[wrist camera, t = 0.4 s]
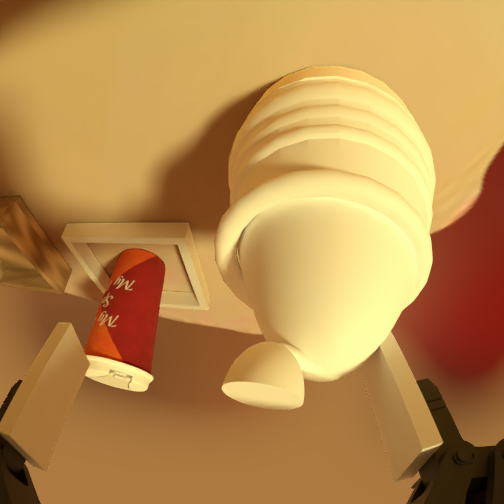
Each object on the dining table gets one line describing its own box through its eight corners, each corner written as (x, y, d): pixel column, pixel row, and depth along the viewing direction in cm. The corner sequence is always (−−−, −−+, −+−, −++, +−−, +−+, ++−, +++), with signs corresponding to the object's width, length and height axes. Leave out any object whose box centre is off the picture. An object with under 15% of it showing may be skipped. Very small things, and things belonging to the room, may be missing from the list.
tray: (67, 223, 32) (60, 236, 30) (189, 222, 31) (185, 238, 30) (113, 290, 44) (109, 302, 42) (210, 296, 43) (208, 309, 41)
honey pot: (220, 170, 25) (116, 383, 13) (298, 30, 16) (173, 165, 4) (351, 240, 27) (337, 452, 15) (450, 137, 18) (554, 383, 6)
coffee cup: (120, 232, 33) (79, 363, 24) (185, 261, 36) (162, 389, 27) (105, 265, 38) (73, 374, 29) (160, 288, 42) (138, 395, 33)
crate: (-40, 203, 29) (-54, 225, 27) (19, 195, 28) (3, 221, 26) (8, 265, 41) (0, 285, 39) (72, 270, 40) (63, 293, 38)
